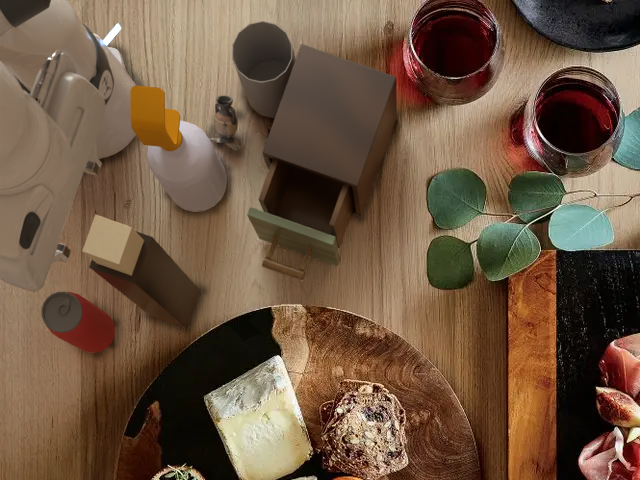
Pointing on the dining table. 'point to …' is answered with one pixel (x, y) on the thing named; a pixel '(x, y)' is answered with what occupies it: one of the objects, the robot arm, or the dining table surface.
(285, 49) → the cup
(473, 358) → the dining table surface
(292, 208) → the drawer
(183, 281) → the plinth
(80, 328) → the beer can
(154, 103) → the soap bottle
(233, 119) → the vase
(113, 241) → the block
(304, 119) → the cabinet
